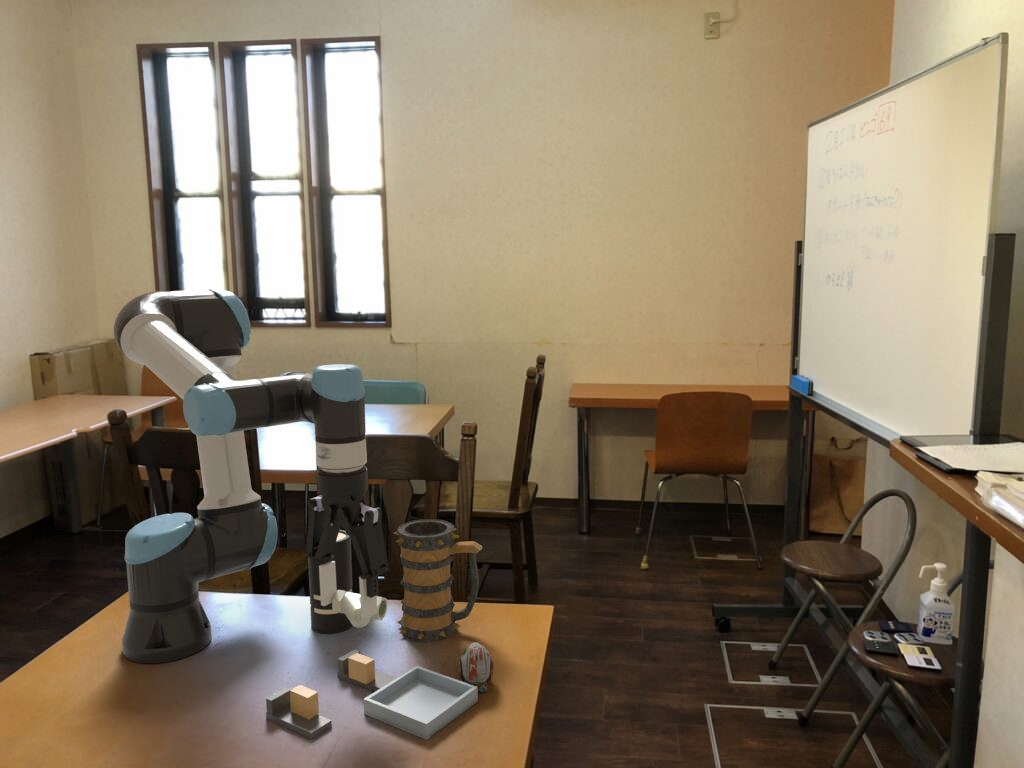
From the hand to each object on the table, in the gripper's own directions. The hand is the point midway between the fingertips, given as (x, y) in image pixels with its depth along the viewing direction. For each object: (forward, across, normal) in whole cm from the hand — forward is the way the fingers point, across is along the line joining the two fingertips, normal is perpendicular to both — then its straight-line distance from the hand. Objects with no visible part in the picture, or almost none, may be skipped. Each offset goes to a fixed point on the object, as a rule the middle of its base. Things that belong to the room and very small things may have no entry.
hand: (348, 608), depth 128 cm
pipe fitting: (+2, 0, +1) cm, 3 cm away
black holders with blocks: (+16, -3, -1) cm, 16 cm away
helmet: (+16, +12, +16) cm, 26 cm away
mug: (+16, -6, +28) cm, 33 cm away
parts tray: (+16, +10, +5) cm, 19 cm away
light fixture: (+16, -26, +21) cm, 36 cm away
